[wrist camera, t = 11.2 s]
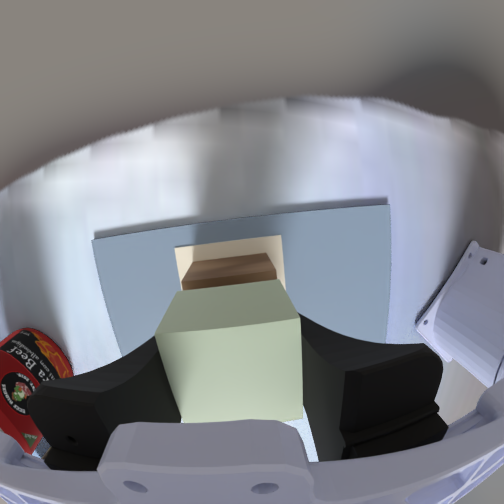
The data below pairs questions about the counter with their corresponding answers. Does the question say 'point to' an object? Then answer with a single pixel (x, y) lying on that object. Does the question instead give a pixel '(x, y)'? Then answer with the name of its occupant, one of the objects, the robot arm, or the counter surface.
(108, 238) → the board
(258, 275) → the walnut block
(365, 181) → the counter surface
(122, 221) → the counter surface
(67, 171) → the counter surface
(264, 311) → the sage block
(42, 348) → the canned food
